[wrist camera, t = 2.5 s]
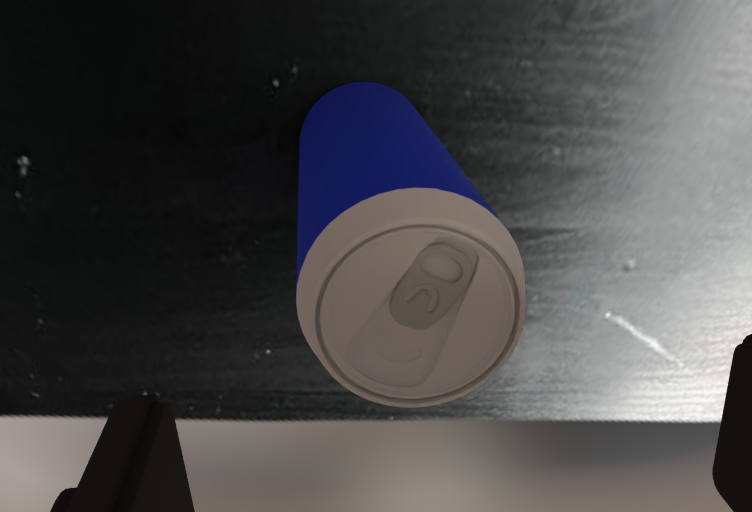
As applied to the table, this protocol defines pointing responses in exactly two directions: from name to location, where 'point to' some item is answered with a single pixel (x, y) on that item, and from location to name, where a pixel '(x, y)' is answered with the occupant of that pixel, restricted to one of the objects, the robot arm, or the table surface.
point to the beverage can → (399, 255)
